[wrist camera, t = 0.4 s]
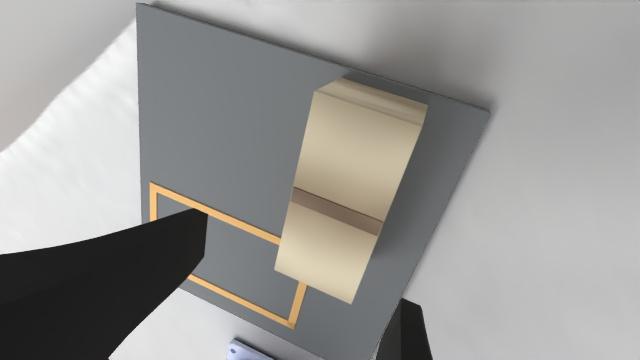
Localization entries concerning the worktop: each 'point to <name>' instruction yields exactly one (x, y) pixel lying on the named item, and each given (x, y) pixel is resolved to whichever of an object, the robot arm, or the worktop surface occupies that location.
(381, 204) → the cream block
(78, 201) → the worktop surface
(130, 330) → the robot arm
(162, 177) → the rubber mat
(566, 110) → the worktop surface
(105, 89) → the worktop surface
